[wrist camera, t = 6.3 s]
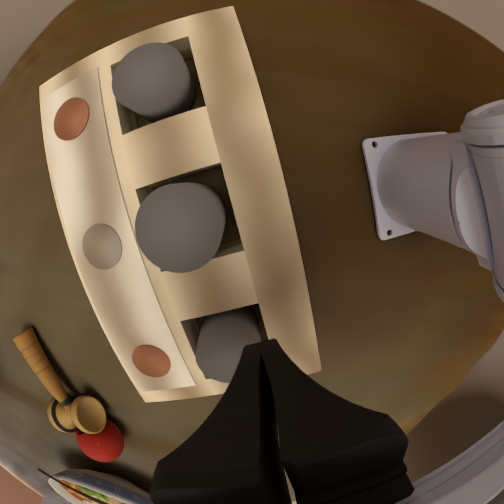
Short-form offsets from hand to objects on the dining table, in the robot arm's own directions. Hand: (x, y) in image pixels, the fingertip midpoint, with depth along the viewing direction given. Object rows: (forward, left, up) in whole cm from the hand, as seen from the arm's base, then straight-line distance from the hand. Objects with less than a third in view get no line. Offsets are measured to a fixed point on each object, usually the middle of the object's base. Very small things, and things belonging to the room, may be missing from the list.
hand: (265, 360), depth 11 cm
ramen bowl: (+33, +33, -11) cm, 48 cm away
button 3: (+3, +3, -10) cm, 11 cm away
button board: (+4, -6, -10) cm, 13 cm away
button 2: (+3, -6, -8) cm, 10 cm away
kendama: (+23, +9, -11) cm, 27 cm away
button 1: (+3, -15, -10) cm, 18 cm away
